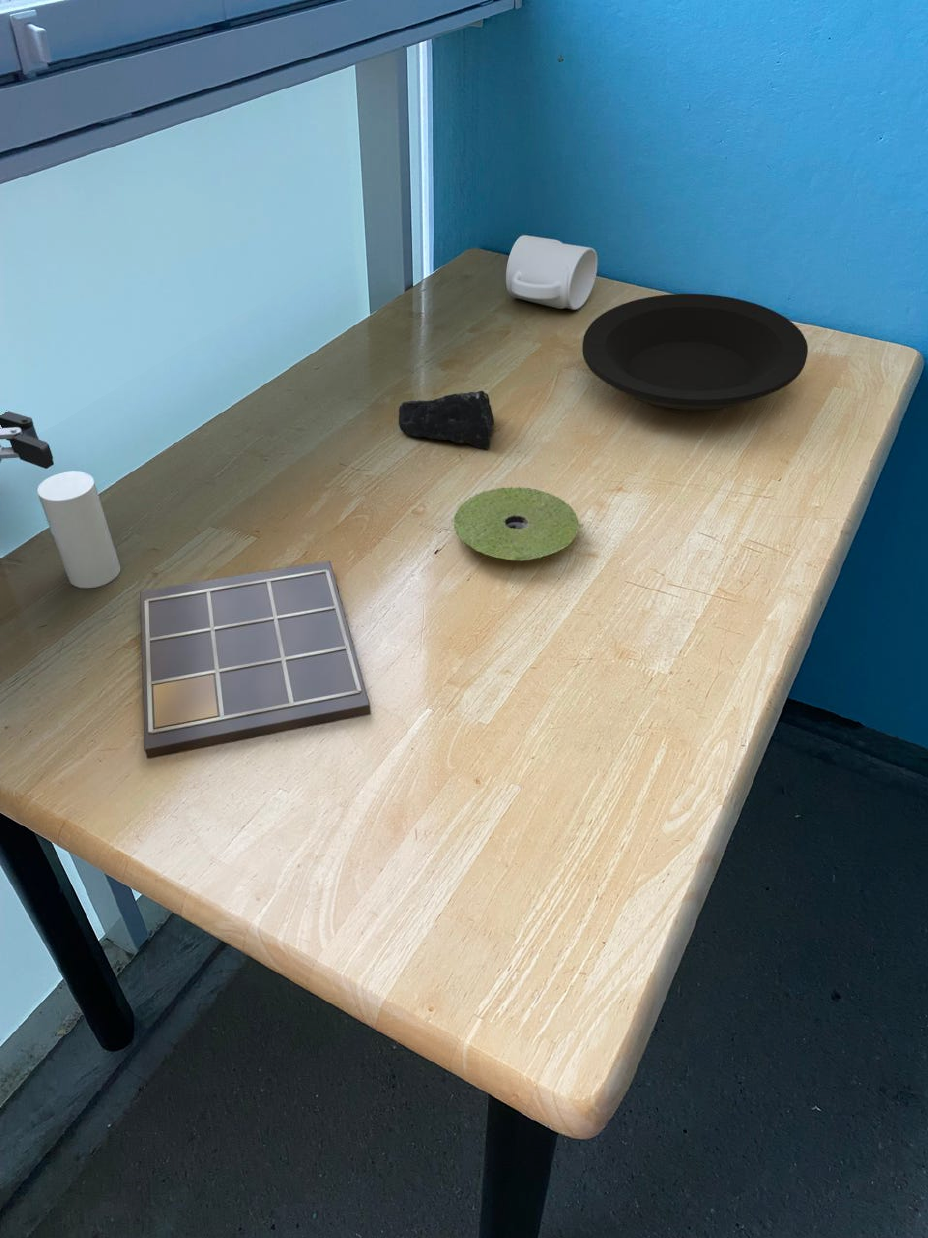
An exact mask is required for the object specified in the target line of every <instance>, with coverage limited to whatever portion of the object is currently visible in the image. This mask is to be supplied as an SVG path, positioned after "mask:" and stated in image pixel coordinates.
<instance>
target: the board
mask: <svg viewBox="0 0 928 1238" xmlns="http://www.w3.org/2000/svg"><path fill="white" fill-rule="evenodd" d="M139 595H140V596H139V597H140V629H141V630H140V636H141V640H140V641H141V674H142V679H141V680H142V715H143V719H142V721H143V750H144V753H145V757H146V758H147V759H153V758H157V757H162V756H167V755H172V754H177V753H182V752H186V751H192V750H197V749H202V748H206V747H212V746H218V745H222V744H223V745H224V744H227V743H233V742H238V741H243V740H247V739H252V738H253V739H254V738H258V737H262V736H267V735H271V734H277V733H283V732H287V731H293V730H297V729H302V728H307V727H312V726H317V725H322V724H323V725H324V724H328V723H332V722H337V721H338V722H339V721H343V720H348V719H352V718H358V717H363V716H368V715H371V713H372V711H371V703H370V700H369V697H368V694H367V690H366V686H365V682H364V678H363V674H362V671H361V668H360V664H359V660H358V656H357V652H356V649H355V646H354V642H353V640H352V636H351V631H350V627H349V624H348V621H347V617H346V613H345V610H344V606H343V602H342V597H341V595H340V591H339V588H338V584H337V581H336V577H335V574H334V570H333V567H332V562H331V560H323V561H318V562H312V563H306V564H300V565H293V566H287V567H281V568H280V567H279V568H275V569H274V568H273V569H269V570H263V571H256V572H250V573H245V574H238V575H233V576H226V577H221V578H215V579H208V580H203V581H196V582H195V581H194V582H189V583H182V584H177V585H172V586H165V587H159V588H153V589H146V590H141V591H140V594H139Z"/></svg>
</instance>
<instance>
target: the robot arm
mask: <svg viewBox="0 0 928 1238" xmlns="http://www.w3.org/2000/svg"><path fill="white" fill-rule="evenodd" d="M7 411H8V412H5V413H4V414H2V415H0V425H1V427H2V428H0V440H5V439H6V440H5V441H8V442H9V443H10V446H7V447H4V446H2V445H1V444H0V463H1V462H2V460H5V459H18V458H19V460H21V461H23V462H26V463H28V464H31V465H34V466H36V467H40V468H43V469H44V470H48V469H49V468H52V467H53V466H54V465H55V462H54V456H53V453H52V450H51V447H50V444H49V443H48V442H47V441H44V440H41V439H39V436H38V434H37V431H36V428H35V425H34V421H33V417H30V416H27V415H23V414H19V413H16V412H12V411H9V410H7Z"/></svg>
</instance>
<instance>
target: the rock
mask: <svg viewBox="0 0 928 1238" xmlns="http://www.w3.org/2000/svg"><path fill="white" fill-rule="evenodd" d="M490 403H491V401H490V397H489V394H488V393H487V392H485V391H484V390H479V391H469V392H459V393H452V394H448V395H444V396H442V397H438V398H435V399H432V400H419V399H418V400H409V401H403V402H402V403H401V405H400V406H399V407H398V426H399V428H400V430H401V432H402V433H403V434H404V435H408V436H412V437H417V438H427V439H432V440H438V441H448V440H449V441H451V442H452V443H457V444H465V443H466V444H468V445H471V446H473V447H476V448H478V449H481V450H485V451H488V450H489V448H490V446H491V438H492V434H493V431H494V430H493V428H494V426H495V418H494V413H493V409H492V405H491V404H490Z"/></svg>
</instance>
